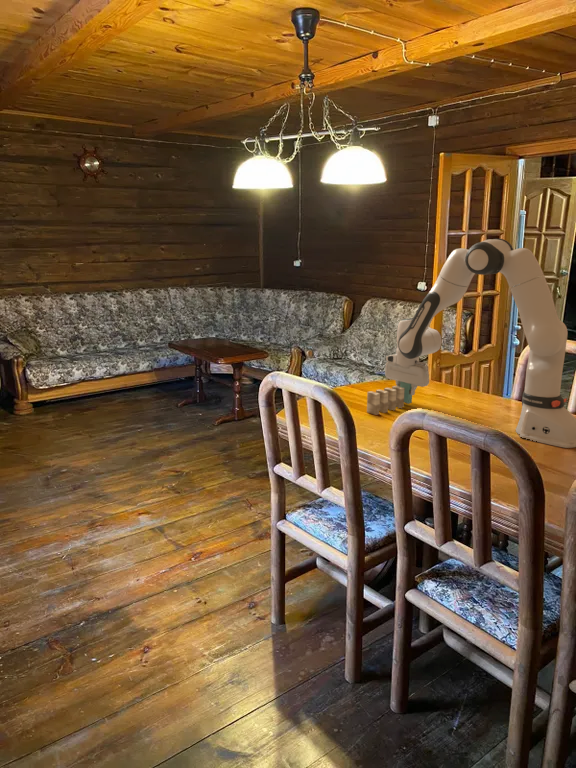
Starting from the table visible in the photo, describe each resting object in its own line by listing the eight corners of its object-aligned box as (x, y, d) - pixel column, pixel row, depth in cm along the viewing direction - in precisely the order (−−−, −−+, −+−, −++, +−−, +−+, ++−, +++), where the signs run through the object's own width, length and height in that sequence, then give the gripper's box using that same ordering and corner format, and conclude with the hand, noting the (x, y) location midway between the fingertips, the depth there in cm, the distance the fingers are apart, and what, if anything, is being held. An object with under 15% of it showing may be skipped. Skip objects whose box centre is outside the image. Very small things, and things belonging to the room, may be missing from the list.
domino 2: (387, 411, 227) (388, 391, 225) (383, 412, 226) (384, 392, 224) (378, 409, 231) (379, 389, 229) (375, 410, 229) (375, 390, 227)
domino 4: (403, 407, 232) (404, 388, 230) (400, 408, 231) (400, 388, 229) (394, 405, 236) (395, 385, 234) (391, 406, 235) (392, 386, 233)
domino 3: (395, 409, 230) (396, 389, 228) (392, 410, 228) (392, 390, 227) (387, 407, 233) (387, 387, 231) (383, 408, 232) (384, 388, 230)
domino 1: (379, 414, 224) (379, 393, 222) (375, 415, 223) (376, 394, 221) (370, 411, 228) (371, 391, 226) (366, 412, 227) (367, 392, 225)
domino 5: (411, 402, 235) (412, 383, 233) (408, 403, 233) (409, 383, 231) (402, 400, 238) (403, 380, 236) (399, 401, 237) (400, 381, 235)
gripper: (433, 362, 225) (431, 397, 229) (393, 354, 241) (392, 386, 244) (422, 364, 222) (420, 400, 225) (383, 356, 237) (381, 389, 241)
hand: (405, 393), depth 235 cm, fingers closed on domino 5, 4 cm apart
